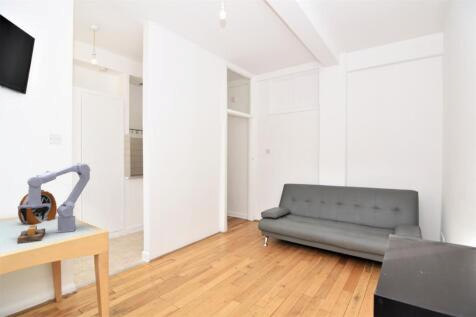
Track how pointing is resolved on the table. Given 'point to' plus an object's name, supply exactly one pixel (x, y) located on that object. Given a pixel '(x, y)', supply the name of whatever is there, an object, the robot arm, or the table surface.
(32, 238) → the shelf
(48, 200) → the alarm clock
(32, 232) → the orange upright block
